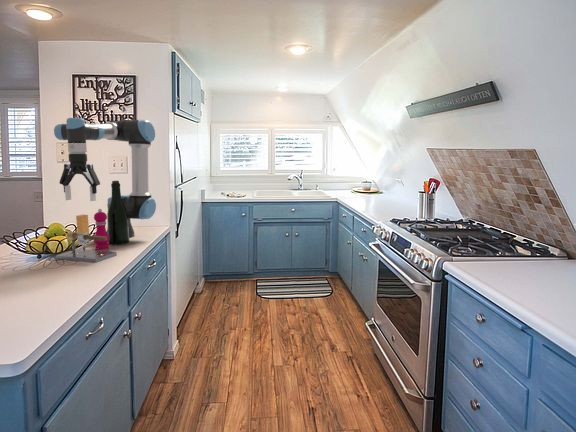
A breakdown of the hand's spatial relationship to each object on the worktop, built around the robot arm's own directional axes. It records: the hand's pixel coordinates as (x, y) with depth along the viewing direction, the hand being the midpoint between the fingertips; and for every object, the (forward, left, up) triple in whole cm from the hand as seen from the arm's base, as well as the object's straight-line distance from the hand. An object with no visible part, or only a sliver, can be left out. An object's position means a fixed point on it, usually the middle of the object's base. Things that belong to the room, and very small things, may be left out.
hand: (80, 200), depth 209 cm
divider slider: (0, 0, -24) cm, 24 cm away
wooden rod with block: (0, +2, -25) cm, 25 cm away
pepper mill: (-17, -4, -26) cm, 32 cm away
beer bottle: (-30, -4, -26) cm, 40 cm away
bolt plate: (0, +1, -26) cm, 26 cm away
